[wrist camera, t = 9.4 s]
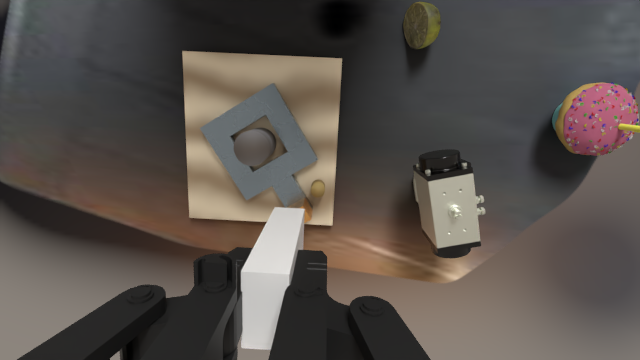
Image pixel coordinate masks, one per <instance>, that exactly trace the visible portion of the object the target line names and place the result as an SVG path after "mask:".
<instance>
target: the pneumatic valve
mask: <svg viewBox="0 0 640 360" xmlns="http://www.w3.org/2000/svg"><path fill="white" fill-rule="evenodd" d="M413 170H414V178H413V185H414V192H415V199H416V201H417V203H418V204H419V211H420V217H421V224H422V231H423V234H424V235H425V236H426V238H427V239H428V241H429V242H430V243H431V249H432V252H433V253H434V254H435V255H437V256H439V257H443V258H458V257H462V256H465V255H467V254H468V253H469V252H470V251H471V248H472V247H478V246H481V242H480V233H479V224H478V215H480V214H481V215H483V214H485V209H484V208H483V207H481V208H477V205H476V204H478V203H479V202H480V203H483V202H484V198H483V196H482V195H481V196H478V197H477V196H475V186H474V177H473V168H472V167H471V163H469V162H467V161H465V160H462V159H461V158H460V152H459V151H458V150H438V151H432V152H428V153H425V154H422V155H420V156H419V163H418V164H416V165H413Z"/></svg>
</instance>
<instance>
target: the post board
mask: <svg viewBox="0 0 640 360" xmlns="http://www.w3.org/2000/svg"><path fill="white" fill-rule="evenodd" d="M182 55H183V78H184V102H185V126H186V150H187V174H188V198H189V218H202V219H220V220H239V221H257V222H267V221H268V219H269V217H270V215H271V213H272V211H273V209H274V208H275V207H282V208H285V206H284V205H283V203H282V201H281V200H280V198H279V197H278V195H277V193H276V192H275V190H274V189H273V187H272V186H271V187H269V188H267V189H266V190H264V191H262V192H260V193H259V194H257V195H255V196H253V197H252V198H250V199H248V200H246V199H245V197H244V196H243V194H242V193H241V191H240V190H239V188H238V187H237V185H236V184H235V182H234V180H233V179H232V177H231V176H230V174H229V173H228V171H227V170H226V168H225V167H224V165H223V163H222V162H221V160H220V159H219V157H218V156H217V154H216V153H215V151H214V150H213V148H212V147H211V145H210V143H209V142H208V140H207V139H206V137H205V136H204V134H203V133H202V131H201V130H200V128H201V127H202V126H204V125H206V124H207V123H209V122H210V121H212V120H214V119H215V118H217V117H219V116H220V115H222V114H223V113H225V112H227V111H228V110H230V109H231V108H233V107H235V106H236V105H238V104H240V103H241V102H243V101H244V100H246V99H248V98H249V97H251V96H252V95H254V94H256V93H257V92H259V91H261V90H262V89H264V88H265V87H267V86H269V85H270V84H272V83H274V84H275V85H276V87H277V89H278V90H279V92H280V94H281V96H282V97H283V99H284V101H285V102H286V104H287V106H288V108H289V109H290V111H291V113H292V114H293V116H294V118H295V119H296V121H297V123H298V125H299V126H300V128H301V130H302V131H303V133H304V135H305V137H306V138H307V140H308V142H309V143H310V145H311V147H312V149H313V150H314V152H315V154H316V155H317V157H318V160H317V161H315V162H313V163H311V164H310V165H308V166H306V167H304V168H303V169H301V170H299V171H297V172H296V173H294V174H293V175H294V177H295V178H296V180H297V181H298V183H299V185H300V186H301V188H302V190H303V191H304V193H305V195H306V196H307V198H308V200H309V201H310V203H311V205H312V206H313V211H312V218H311V220H310V221H308V222H306V223H304V224H313V225H331V226H332V224H333V207H334V190H335V173H336V156H337V139H338V122H339V105H340V88H341V71H342V58H323V57H302V56H280V55H259V54H237V53H216V52H194V51H182ZM233 137H234V138H235V142H234V153H235V156H236V157H237V159H238V160H239V161H240V162H241V163H243V164H245V165H248V166H252V167H253V169H254V170H257V169H258V168H260V167H262V166H263V165H265V164H267V163H269V162H270V161H272V160H274V159H275V158H277V157H279V156H281V155H282V154H284V153H286V152H287V149H286V148H285V146H284V144H283V143H282V141H281V139H280V138H279V136H278V134H277V133H276V131H275V129H274V128H273V126H272V124H271V123H270V121H269V119H268V118H267V116H264V117H262V118H261V119H259V120H257V121H256V122H254V123H252V124H251V125H249V126H247V127H246V128H244V129H242V130H241V131H239V132H237V133H236V134H234V135H233Z"/></svg>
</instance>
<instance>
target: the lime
mask: <svg viewBox="0 0 640 360" xmlns="http://www.w3.org/2000/svg"><path fill="white" fill-rule="evenodd" d="M404 18H405V19H404V23H403V24H404V25H403V27H404V34H405V37H406V40H407V42H408V44H409V45H410V47H411V48H413V49H421V48H424V47H426V46H428V45H430V44H431V43H432V42H433V41H434V40H435V39H436V38H437V36H438V34H439V30H440V23H441V21H440V13H439V11H438V9H437V8H436V7H435V6H434V5H432V4H430V3H425V2H416V3H413V4H412V5H411V6H410V8H409V9H408V10H407V12H406V15H405V17H404Z"/></svg>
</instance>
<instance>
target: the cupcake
mask: <svg viewBox="0 0 640 360" xmlns="http://www.w3.org/2000/svg"><path fill="white" fill-rule="evenodd" d="M625 89H627V88H625ZM625 89H624V88H623V87H622V86H620V85H617V84H614V83H613V84H612V83H609V84H608V83H592V84H586V85H583V86H581V87H580V88H578V89H576V90H575V91H573V92H571V93H570V94H569V95H568V96H567V97H566V98H565V100H564V101H563V103H562V104H560V105H559V106H558V107H557V108H556V110H555V111H554V114H553V117H552V125H553V128H554V130H555V131H556V133H557V136H558V138H559V139H560V141H561V142H562V143H563V145H564V146H565V147H566V148H567V149H568V150H569V151H570V152H572V153H576V154H582V155H594V156H601V155H604V154H607V153H611V152H612V151H614V150H615V149H617V148H621V147H620V146H623V145H624V143H625V142H626V141H628V140H629V139H632V136H633V135H632V134H634V132H640V126H637V124H638V123H639V121H638V120H639V114H638V109H637V106H638V104H637V103H636V101H635V100H634V99H635V97H634V96H633V95H631V93H629V92H628V89H627V90H625ZM636 104H637V105H636ZM630 137H631V138H630ZM622 144H623V145H622Z"/></svg>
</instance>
